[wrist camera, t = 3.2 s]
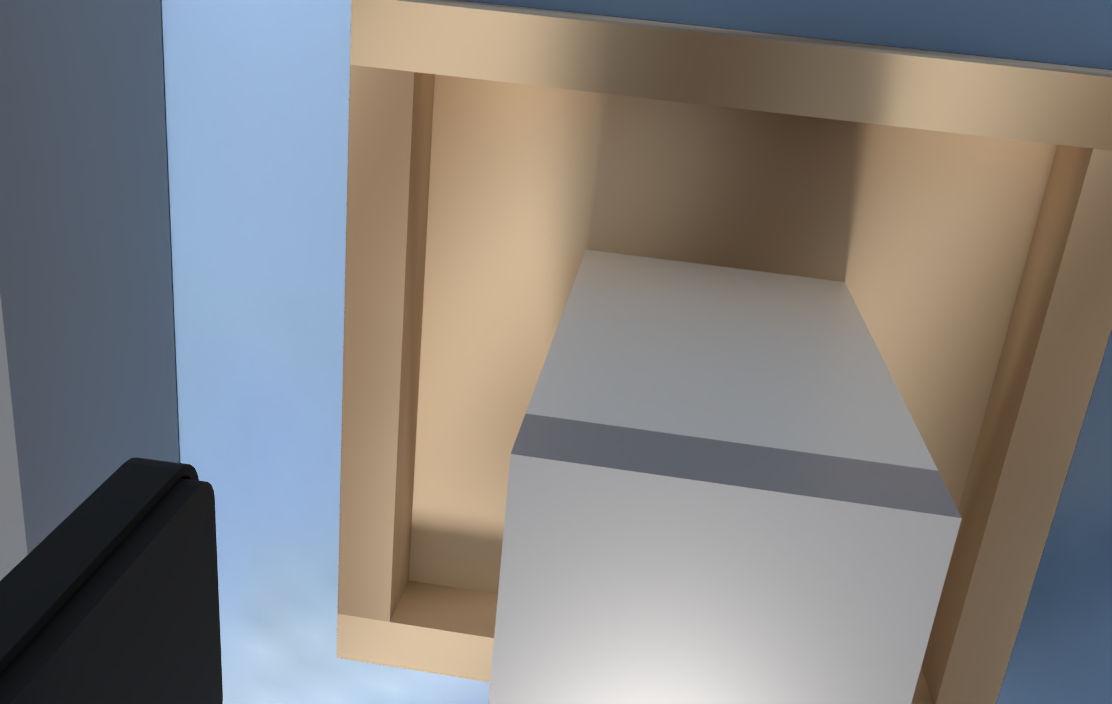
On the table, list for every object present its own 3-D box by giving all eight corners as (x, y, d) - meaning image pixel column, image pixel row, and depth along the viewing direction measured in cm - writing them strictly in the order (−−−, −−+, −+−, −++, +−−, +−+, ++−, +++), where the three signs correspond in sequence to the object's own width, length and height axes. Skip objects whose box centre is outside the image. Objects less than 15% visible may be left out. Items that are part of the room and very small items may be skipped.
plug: (844, 282, 17) (961, 517, 10) (797, 510, 19) (867, 861, 11) (586, 249, 18) (509, 453, 10) (561, 475, 19) (479, 796, 12)
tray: (1130, 72, 16) (1187, 85, 14) (952, 688, 20) (977, 761, 19) (388, -8, 17) (351, -5, 15) (367, 597, 21) (336, 657, 20)
